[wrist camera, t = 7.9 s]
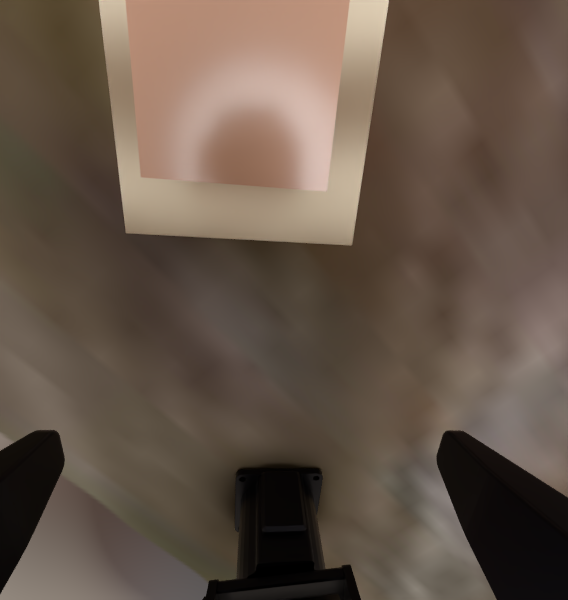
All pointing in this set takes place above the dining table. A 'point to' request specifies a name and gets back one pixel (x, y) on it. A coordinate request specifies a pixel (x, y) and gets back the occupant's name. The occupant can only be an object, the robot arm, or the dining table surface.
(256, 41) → the cube
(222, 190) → the base
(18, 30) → the dining table surface
